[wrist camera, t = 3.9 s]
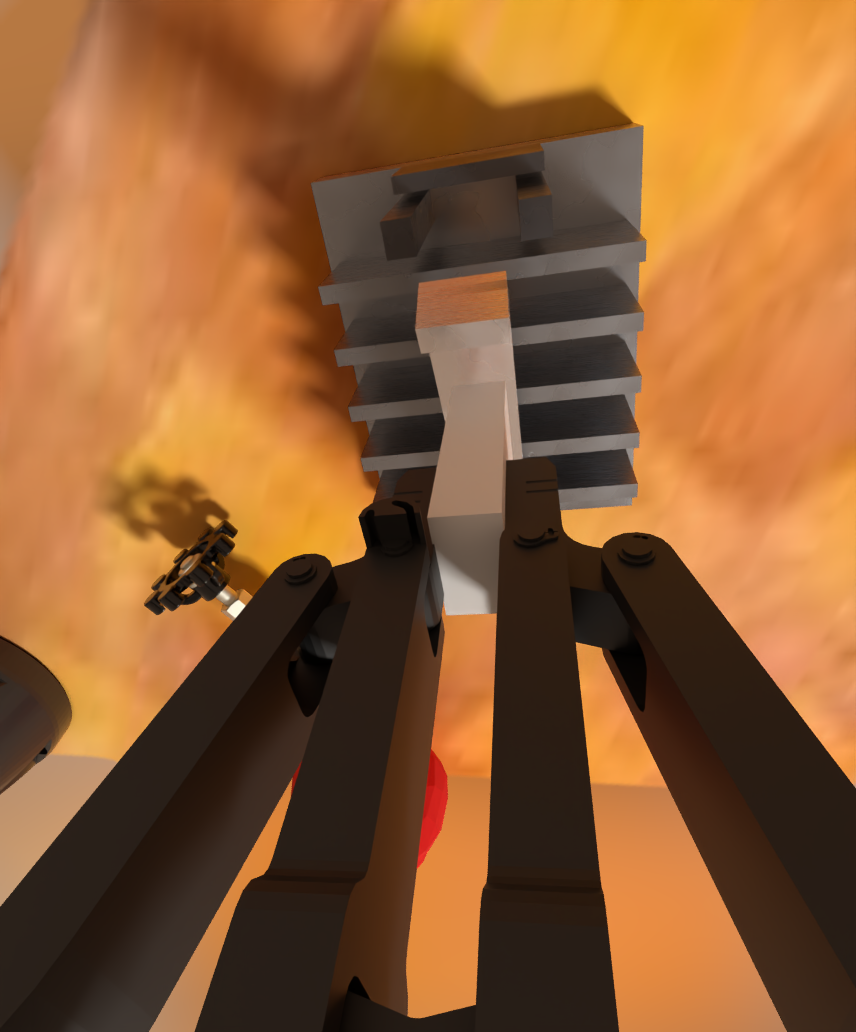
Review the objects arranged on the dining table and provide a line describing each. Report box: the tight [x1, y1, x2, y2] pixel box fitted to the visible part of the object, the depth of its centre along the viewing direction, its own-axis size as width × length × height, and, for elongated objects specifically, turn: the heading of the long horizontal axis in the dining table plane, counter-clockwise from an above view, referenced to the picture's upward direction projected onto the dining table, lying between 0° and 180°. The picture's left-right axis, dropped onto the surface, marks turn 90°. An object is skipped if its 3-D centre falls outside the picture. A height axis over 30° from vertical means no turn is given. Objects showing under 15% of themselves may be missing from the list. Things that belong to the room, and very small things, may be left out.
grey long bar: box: [415, 271, 523, 460], centre depth 23 cm, size 16×3×2 cm, turn 9°
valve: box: [144, 520, 253, 621], centre depth 39 cm, size 7×7×12 cm
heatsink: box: [311, 123, 646, 510], centre depth 27 cm, size 18×13×8 cm
